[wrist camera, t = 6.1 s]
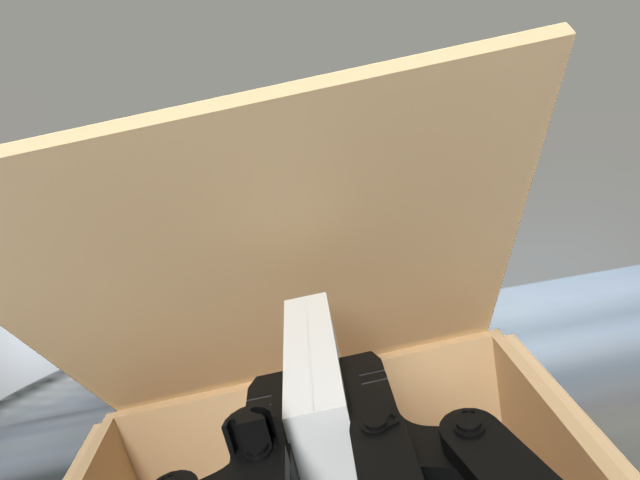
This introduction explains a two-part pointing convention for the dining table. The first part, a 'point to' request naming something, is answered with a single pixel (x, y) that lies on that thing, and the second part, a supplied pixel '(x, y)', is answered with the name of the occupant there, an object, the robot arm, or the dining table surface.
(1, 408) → the dining table surface
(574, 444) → the carton
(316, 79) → the carton flap
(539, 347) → the dining table surface
